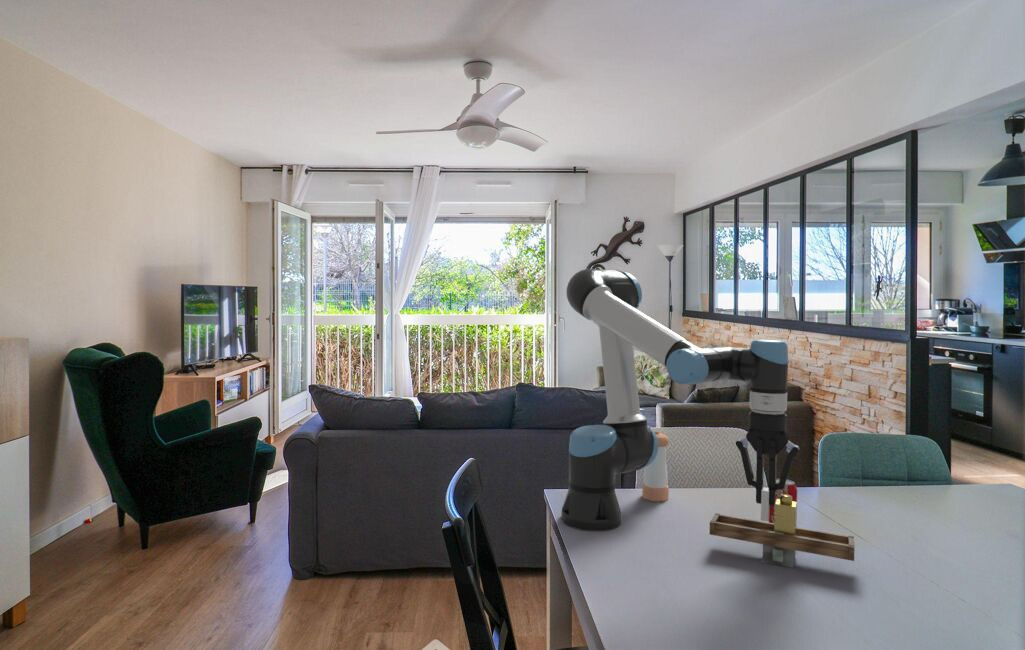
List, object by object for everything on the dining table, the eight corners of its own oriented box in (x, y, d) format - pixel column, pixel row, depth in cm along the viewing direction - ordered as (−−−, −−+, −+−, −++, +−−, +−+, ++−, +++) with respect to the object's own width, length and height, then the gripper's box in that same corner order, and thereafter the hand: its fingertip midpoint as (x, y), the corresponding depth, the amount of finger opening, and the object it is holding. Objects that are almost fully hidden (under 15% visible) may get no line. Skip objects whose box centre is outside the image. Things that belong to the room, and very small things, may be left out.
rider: (774, 536, 130) (775, 497, 130) (775, 530, 133) (776, 492, 133) (794, 540, 128) (795, 500, 128) (796, 533, 132) (797, 495, 131)
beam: (708, 552, 135) (709, 522, 135) (714, 541, 141) (715, 512, 141) (853, 581, 122) (854, 547, 121) (853, 567, 128) (854, 535, 128)
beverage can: (799, 535, 146) (800, 485, 145) (771, 533, 147) (772, 484, 147) (792, 526, 152) (793, 478, 151) (766, 524, 153) (767, 477, 153)
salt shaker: (671, 501, 170) (672, 433, 169) (645, 501, 170) (646, 433, 169) (665, 493, 177) (666, 428, 177) (640, 493, 177) (641, 428, 177)
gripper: (733, 410, 132) (731, 518, 132) (799, 416, 125) (796, 529, 126) (738, 406, 138) (736, 508, 139) (802, 411, 132) (799, 519, 133)
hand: (765, 518), depth 133 cm, fingers closed
